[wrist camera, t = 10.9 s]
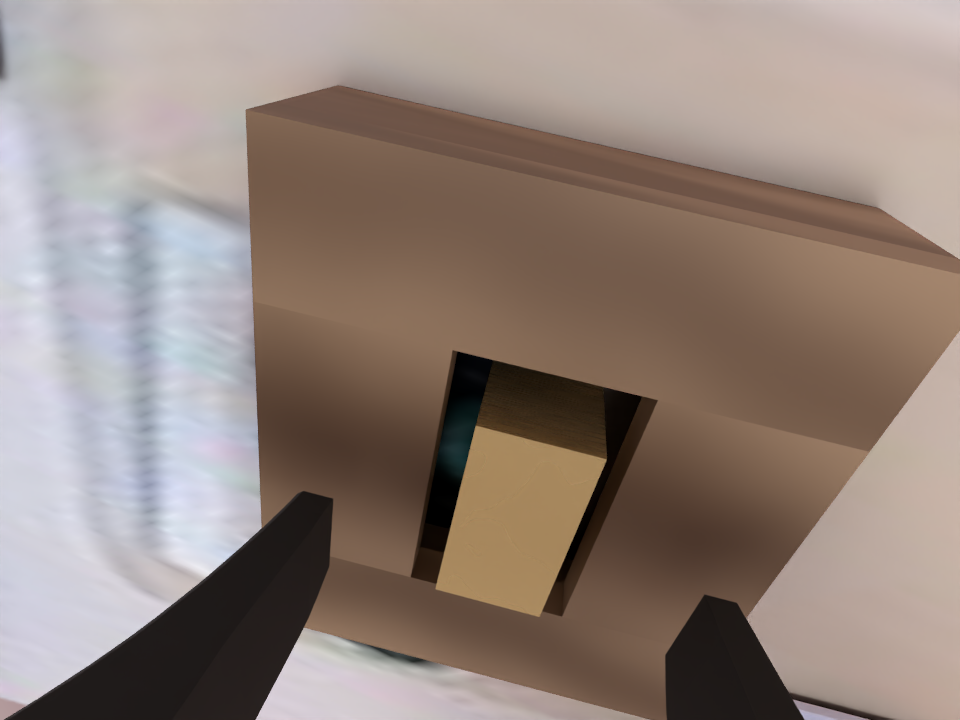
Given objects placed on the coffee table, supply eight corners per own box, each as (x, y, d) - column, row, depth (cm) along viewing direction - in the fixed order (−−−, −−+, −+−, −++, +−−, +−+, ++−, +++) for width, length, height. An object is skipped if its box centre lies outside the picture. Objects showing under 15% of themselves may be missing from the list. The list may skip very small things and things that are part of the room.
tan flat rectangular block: (550, 471, 17) (539, 617, 13) (471, 450, 17) (435, 589, 13) (600, 332, 15) (606, 459, 10) (506, 309, 15) (475, 425, 10)
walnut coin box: (653, 601, 19) (667, 724, 16) (319, 515, 20) (265, 616, 17) (879, 208, 12) (995, 282, 9) (337, 85, 12) (245, 109, 9)
